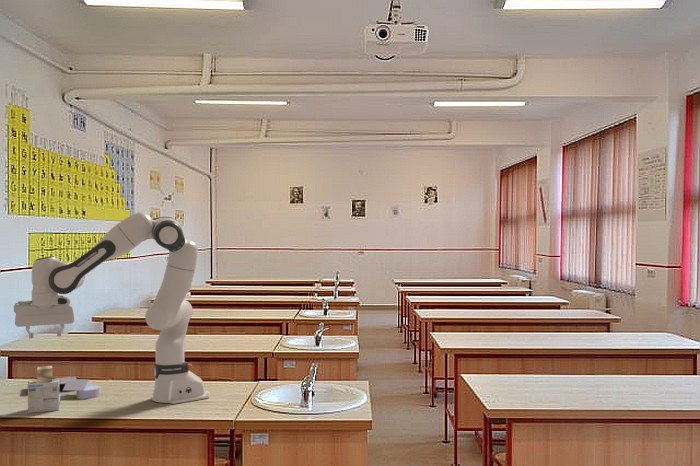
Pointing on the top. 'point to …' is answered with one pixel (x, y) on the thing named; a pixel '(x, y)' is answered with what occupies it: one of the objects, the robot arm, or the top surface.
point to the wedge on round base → (83, 388)
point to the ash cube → (44, 374)
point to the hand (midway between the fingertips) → (45, 337)
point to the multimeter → (63, 383)
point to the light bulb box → (43, 396)
